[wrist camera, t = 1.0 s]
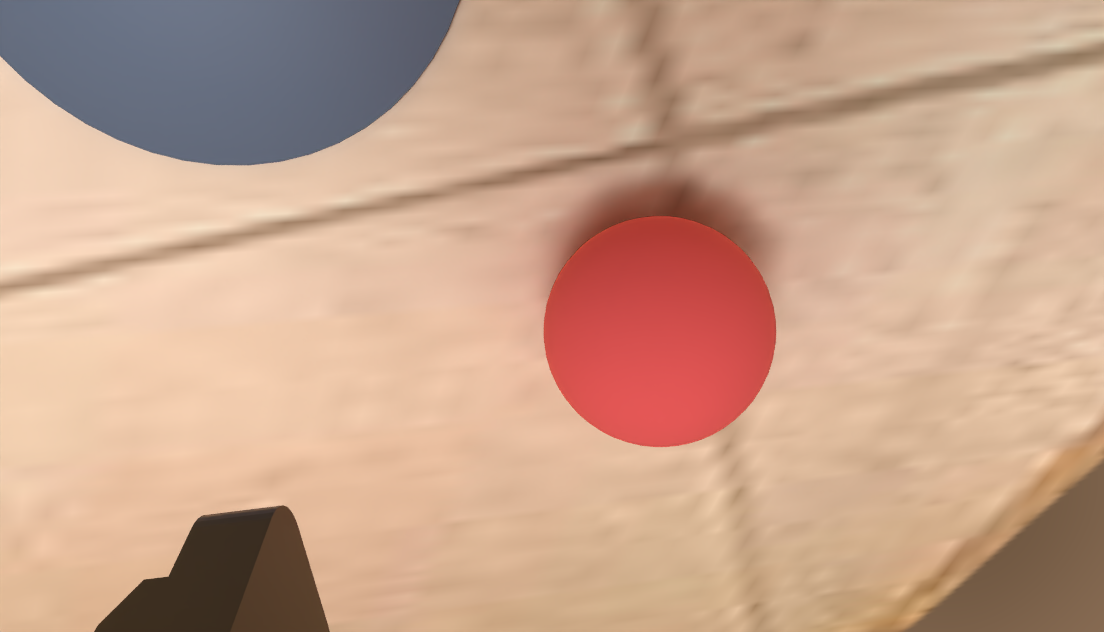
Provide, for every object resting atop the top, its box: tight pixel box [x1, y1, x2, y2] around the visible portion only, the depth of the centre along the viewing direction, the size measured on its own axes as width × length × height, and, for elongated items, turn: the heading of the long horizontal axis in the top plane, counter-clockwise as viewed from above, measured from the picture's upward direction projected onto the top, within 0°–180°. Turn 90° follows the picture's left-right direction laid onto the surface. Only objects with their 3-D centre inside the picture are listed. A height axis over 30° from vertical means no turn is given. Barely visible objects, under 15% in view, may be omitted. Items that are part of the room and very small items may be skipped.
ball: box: [544, 216, 776, 447], centre depth 25 cm, size 6×6×6 cm
